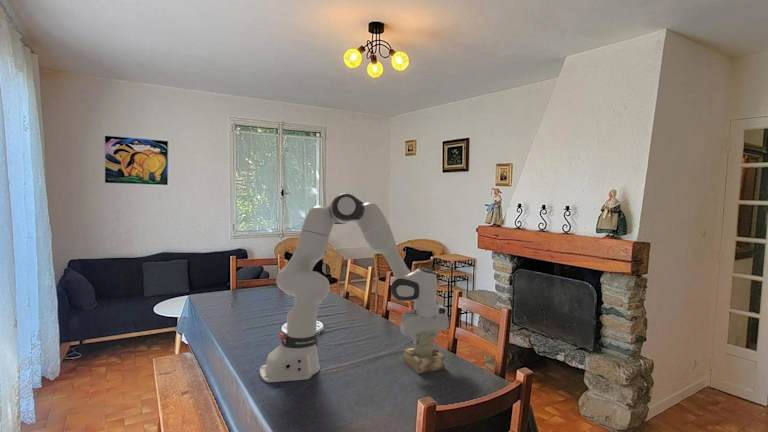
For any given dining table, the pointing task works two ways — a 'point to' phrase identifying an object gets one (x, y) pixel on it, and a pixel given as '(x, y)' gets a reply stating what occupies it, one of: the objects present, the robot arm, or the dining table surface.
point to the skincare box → (424, 344)
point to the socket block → (424, 361)
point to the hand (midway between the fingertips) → (424, 343)
